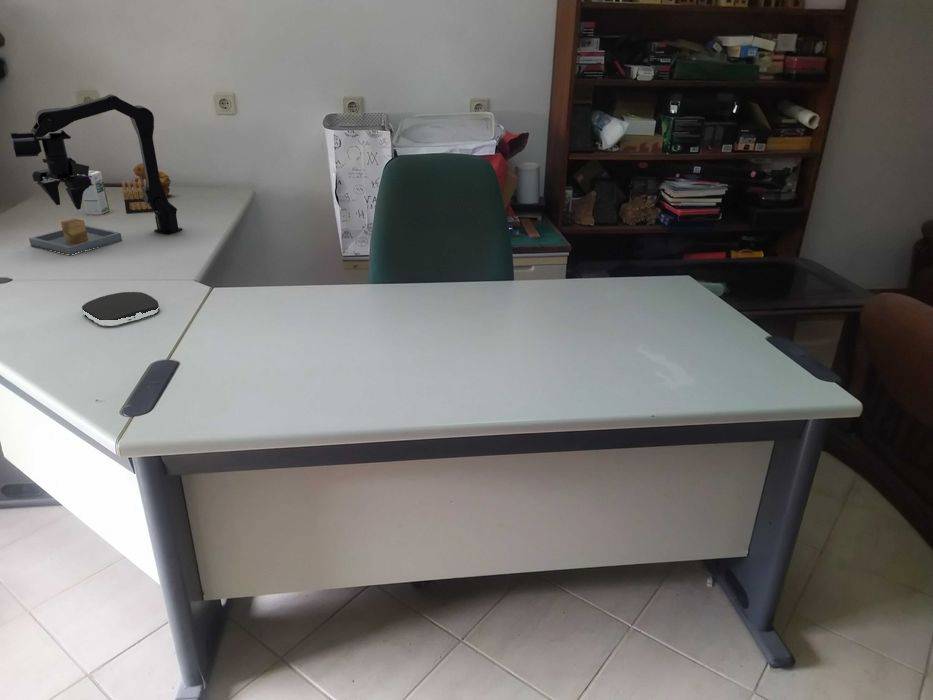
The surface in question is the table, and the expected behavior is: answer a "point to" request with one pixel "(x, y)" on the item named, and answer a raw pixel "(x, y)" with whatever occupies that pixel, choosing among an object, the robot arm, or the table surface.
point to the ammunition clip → (135, 198)
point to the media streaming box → (120, 305)
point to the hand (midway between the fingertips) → (68, 207)
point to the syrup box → (95, 195)
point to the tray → (58, 244)
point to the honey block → (74, 231)
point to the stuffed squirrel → (141, 173)
